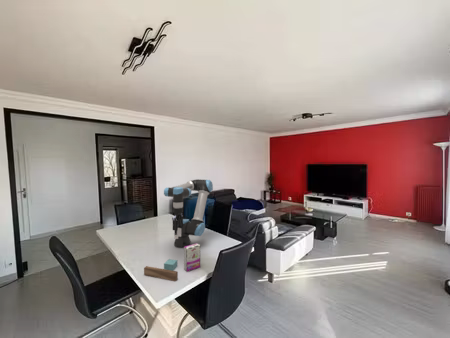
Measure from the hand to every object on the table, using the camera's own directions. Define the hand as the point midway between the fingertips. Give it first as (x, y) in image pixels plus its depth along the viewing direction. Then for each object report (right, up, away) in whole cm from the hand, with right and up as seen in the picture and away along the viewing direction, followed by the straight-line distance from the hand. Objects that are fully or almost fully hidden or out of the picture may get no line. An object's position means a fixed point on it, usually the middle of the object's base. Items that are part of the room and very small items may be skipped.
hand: (177, 237), depth 155 cm
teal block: (-3, -19, -9) cm, 21 cm away
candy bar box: (+13, -19, -10) cm, 25 cm away
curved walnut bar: (-7, -19, -21) cm, 29 cm away
